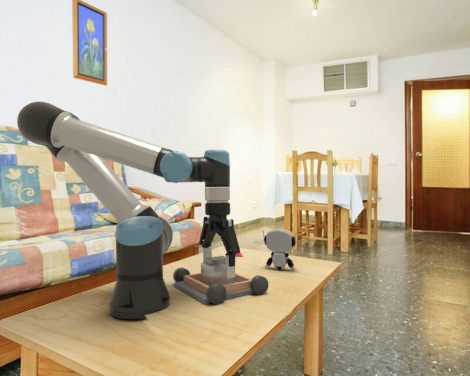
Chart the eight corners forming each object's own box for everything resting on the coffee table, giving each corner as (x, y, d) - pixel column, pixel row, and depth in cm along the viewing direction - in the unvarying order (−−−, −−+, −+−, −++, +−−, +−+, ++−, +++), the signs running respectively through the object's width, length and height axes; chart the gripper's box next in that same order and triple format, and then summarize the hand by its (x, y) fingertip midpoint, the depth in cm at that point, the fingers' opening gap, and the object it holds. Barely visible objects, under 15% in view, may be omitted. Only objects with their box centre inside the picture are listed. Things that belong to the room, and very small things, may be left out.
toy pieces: (225, 261, 143) (225, 250, 143) (236, 256, 153) (236, 246, 153) (252, 264, 138) (251, 252, 138) (262, 258, 148) (261, 248, 148)
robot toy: (298, 270, 125) (298, 228, 125) (295, 273, 121) (294, 230, 121) (266, 267, 131) (266, 227, 131) (262, 270, 127) (261, 228, 126)
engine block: (210, 289, 99) (210, 261, 99) (201, 284, 104) (200, 257, 104) (234, 284, 103) (234, 257, 103) (224, 280, 108) (223, 254, 108)
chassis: (208, 306, 88) (208, 286, 88) (171, 284, 108) (171, 268, 108) (269, 292, 99) (269, 275, 99) (226, 275, 119) (226, 260, 119)
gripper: (252, 202, 95) (253, 279, 95) (208, 200, 116) (209, 263, 116) (228, 203, 91) (229, 284, 91) (188, 201, 112) (189, 266, 112)
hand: (218, 272), depth 104 cm, fingers open, 13 cm apart
